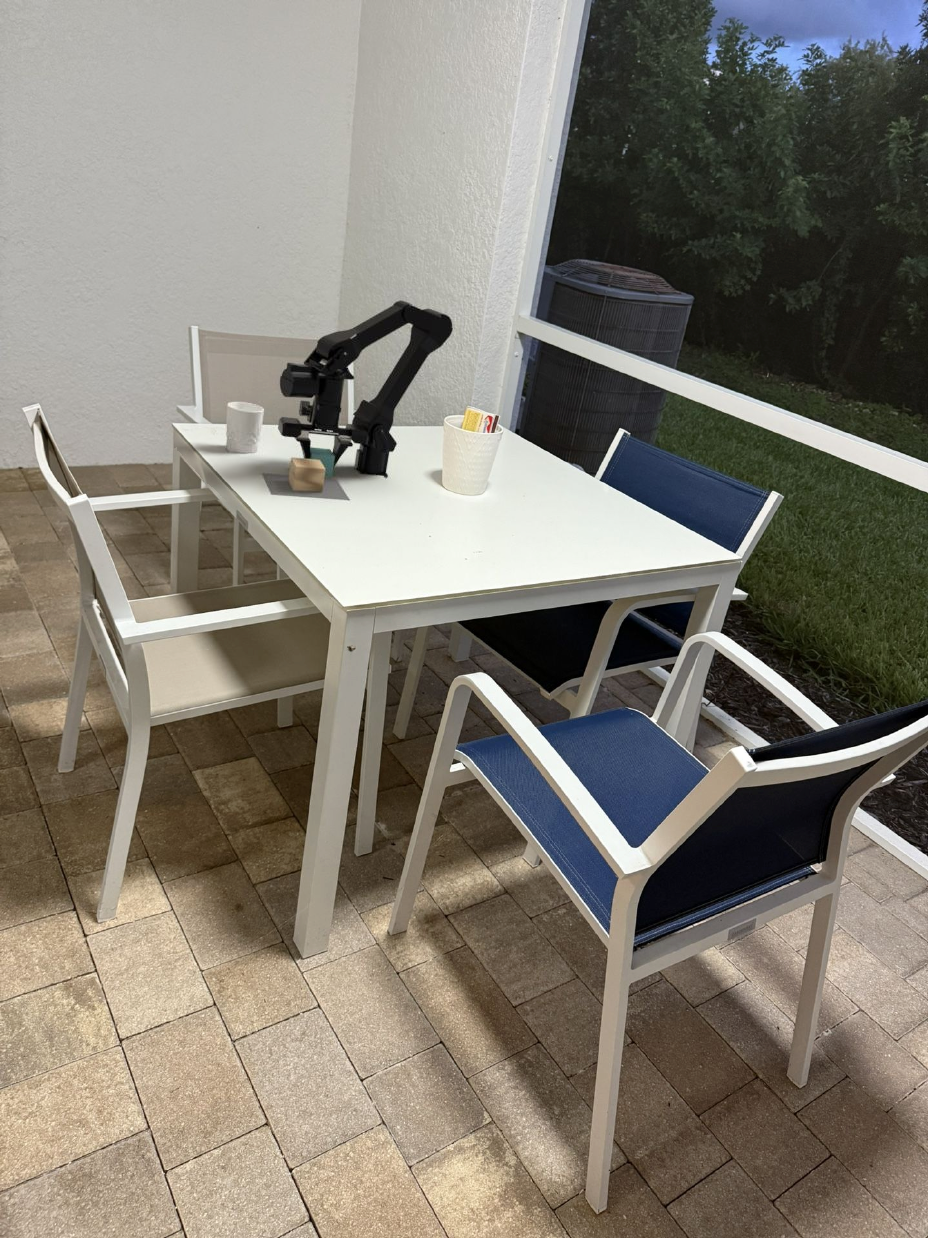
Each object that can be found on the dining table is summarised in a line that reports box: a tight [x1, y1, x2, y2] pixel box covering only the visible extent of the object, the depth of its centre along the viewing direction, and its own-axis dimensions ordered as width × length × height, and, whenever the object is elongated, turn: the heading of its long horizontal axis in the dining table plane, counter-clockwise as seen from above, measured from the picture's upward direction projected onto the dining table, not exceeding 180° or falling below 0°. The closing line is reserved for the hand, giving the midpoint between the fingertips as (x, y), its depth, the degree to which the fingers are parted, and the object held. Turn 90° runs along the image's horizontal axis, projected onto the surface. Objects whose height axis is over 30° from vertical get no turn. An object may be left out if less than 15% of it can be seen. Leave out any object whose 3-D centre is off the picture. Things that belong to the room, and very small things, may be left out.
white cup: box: [225, 401, 265, 455], centre depth 202 cm, size 8×8×10 cm
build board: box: [261, 472, 351, 501], centre depth 189 cm, size 16×13×1 cm
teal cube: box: [310, 446, 335, 477], centre depth 199 cm, size 5×5×5 cm
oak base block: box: [288, 457, 326, 492], centre depth 188 cm, size 6×6×5 cm
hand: (318, 468), depth 200 cm, fingers closed on teal cube, 5 cm apart
